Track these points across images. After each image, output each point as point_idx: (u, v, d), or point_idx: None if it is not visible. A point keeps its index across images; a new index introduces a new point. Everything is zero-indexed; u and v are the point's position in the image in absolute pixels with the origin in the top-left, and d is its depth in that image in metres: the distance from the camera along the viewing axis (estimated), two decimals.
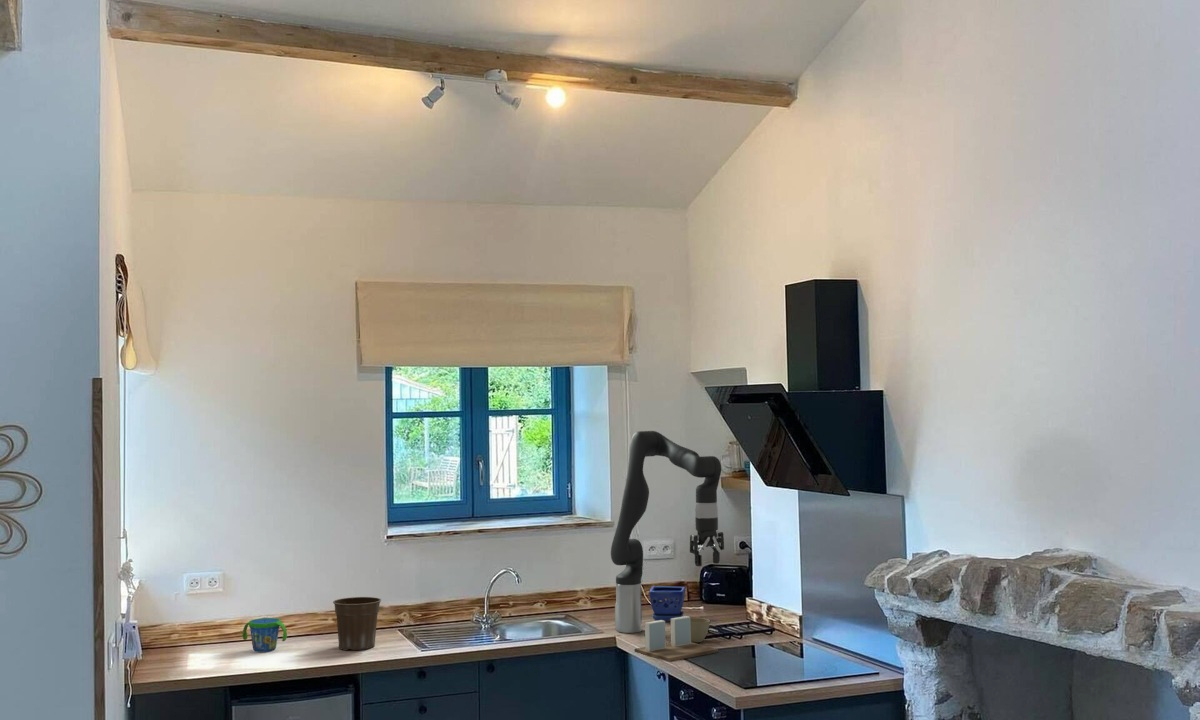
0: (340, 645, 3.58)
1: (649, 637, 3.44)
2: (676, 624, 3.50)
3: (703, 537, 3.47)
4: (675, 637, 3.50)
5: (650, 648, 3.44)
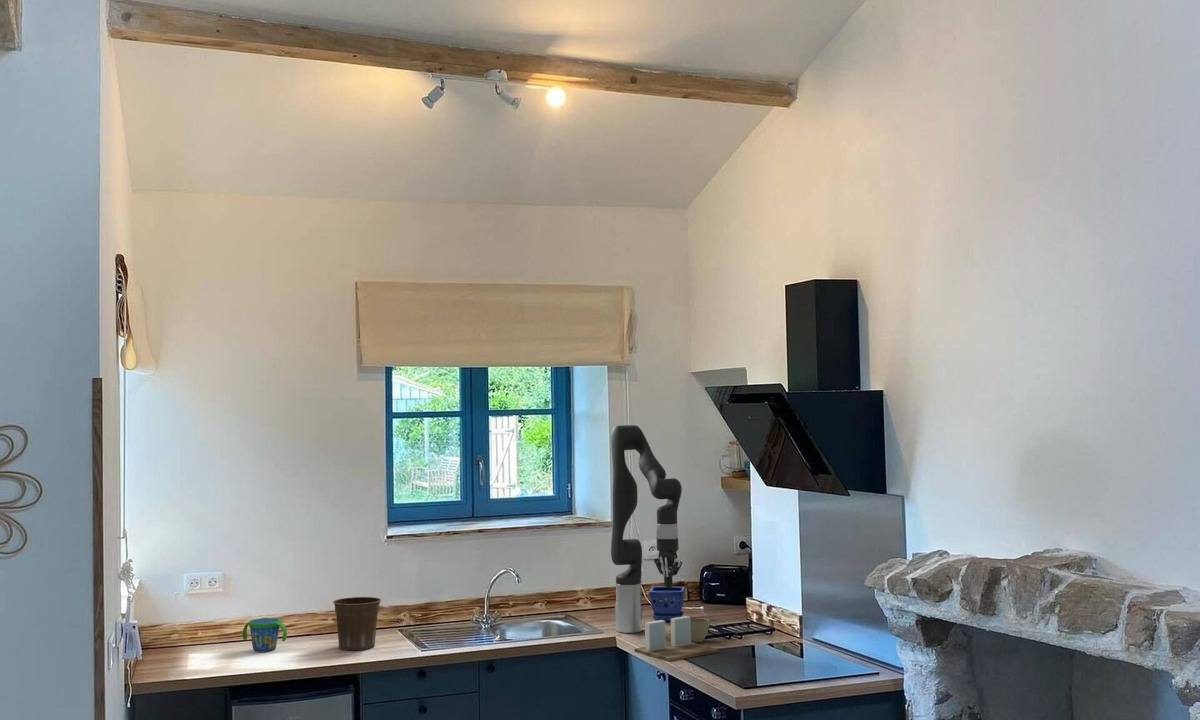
0: (340, 645, 3.58)
1: (649, 637, 3.44)
2: (676, 624, 3.50)
3: None
4: (675, 637, 3.50)
5: (650, 648, 3.44)
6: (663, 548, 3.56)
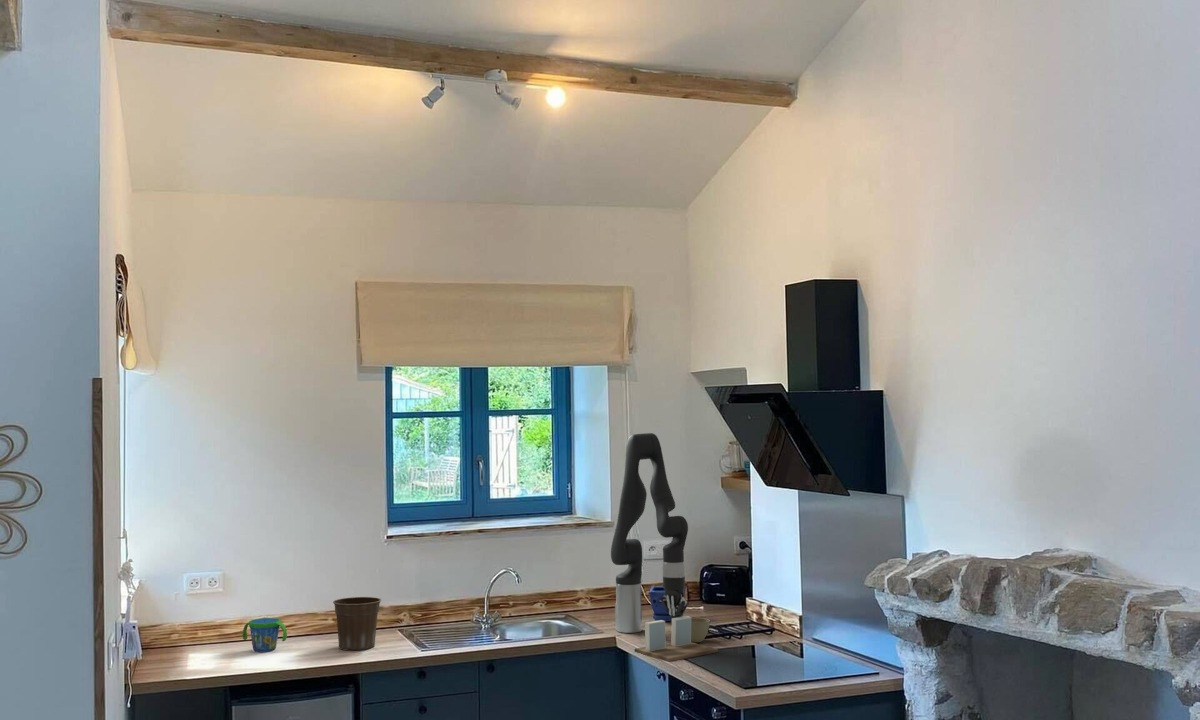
0: (340, 645, 3.58)
1: (649, 637, 3.44)
2: (677, 624, 3.50)
3: None
4: (675, 637, 3.50)
5: (650, 648, 3.44)
6: (669, 587, 3.53)
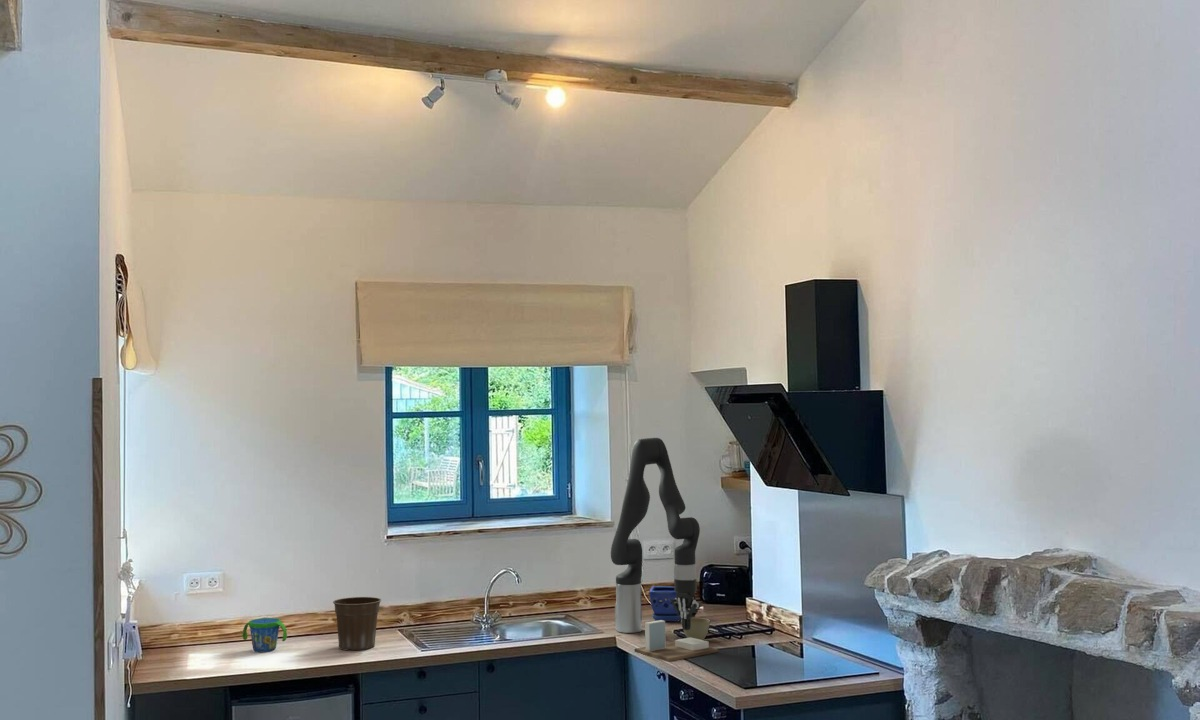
0: (340, 645, 3.58)
1: (649, 637, 3.44)
2: (691, 649, 3.44)
3: None
4: (681, 647, 3.47)
5: (650, 648, 3.44)
6: (681, 590, 3.48)
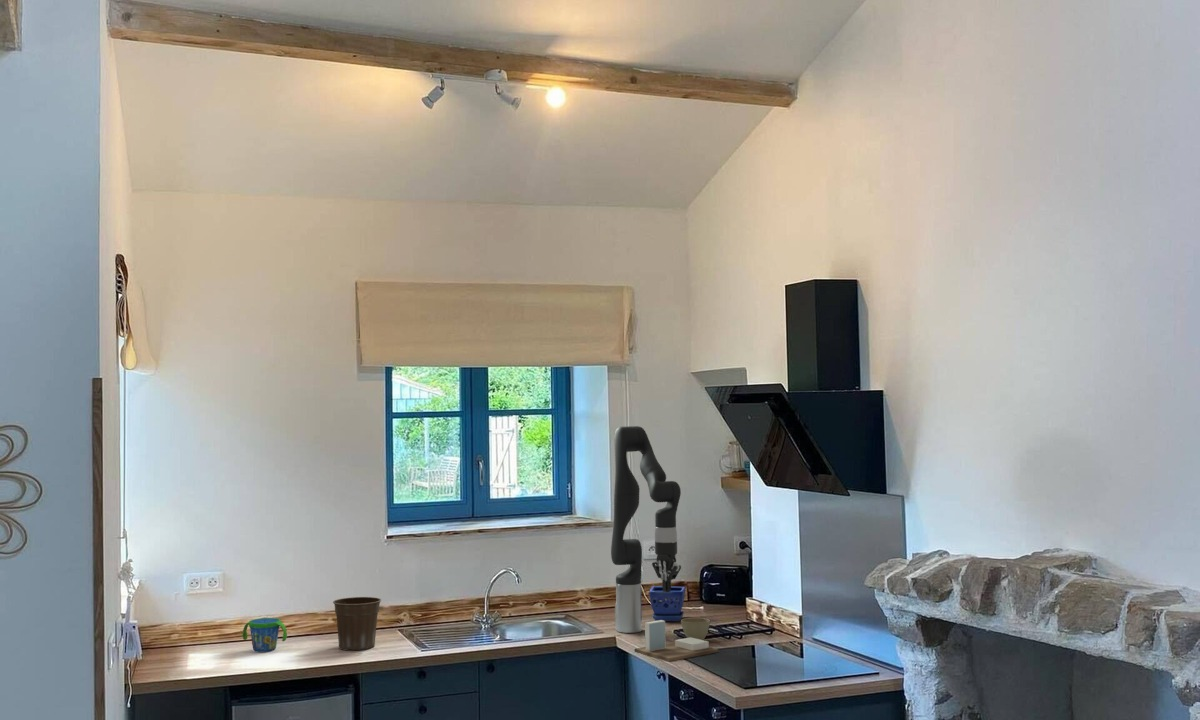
0: (340, 645, 3.58)
1: (649, 637, 3.44)
2: (691, 649, 3.44)
3: None
4: (681, 647, 3.47)
5: (650, 648, 3.44)
6: (661, 552, 3.51)
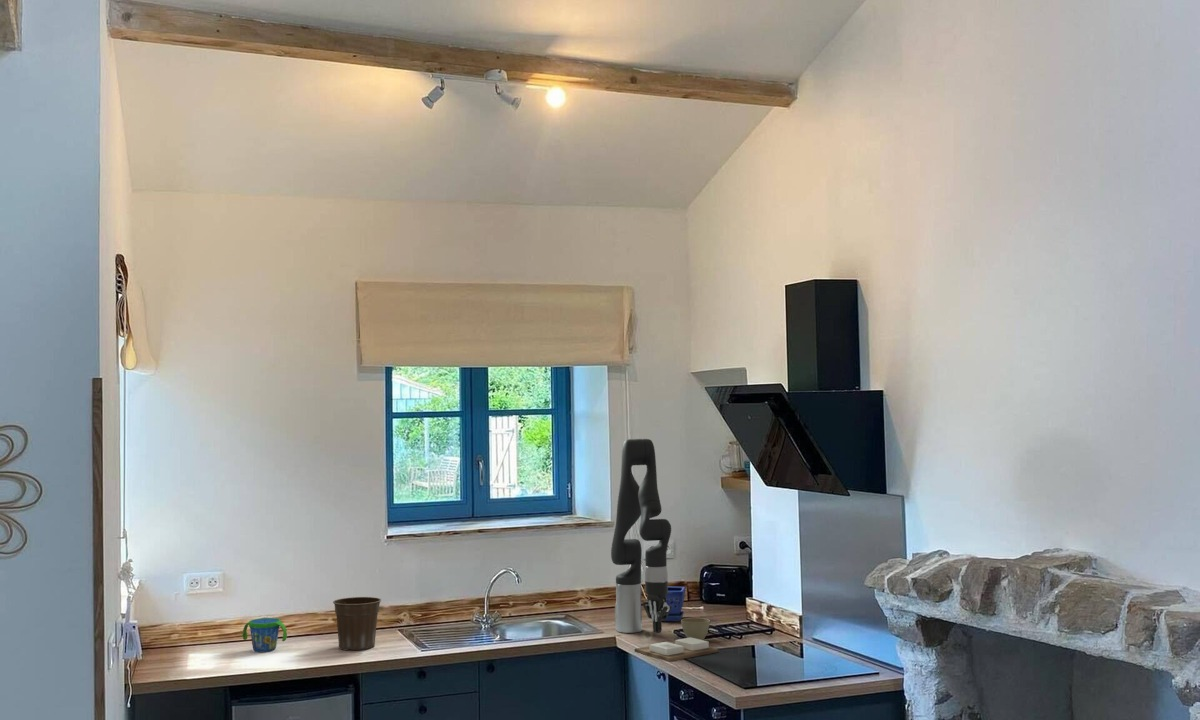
0: (340, 645, 3.58)
1: (658, 652, 3.40)
2: (691, 649, 3.44)
3: None
4: None
5: (652, 651, 3.43)
6: (651, 592, 3.43)
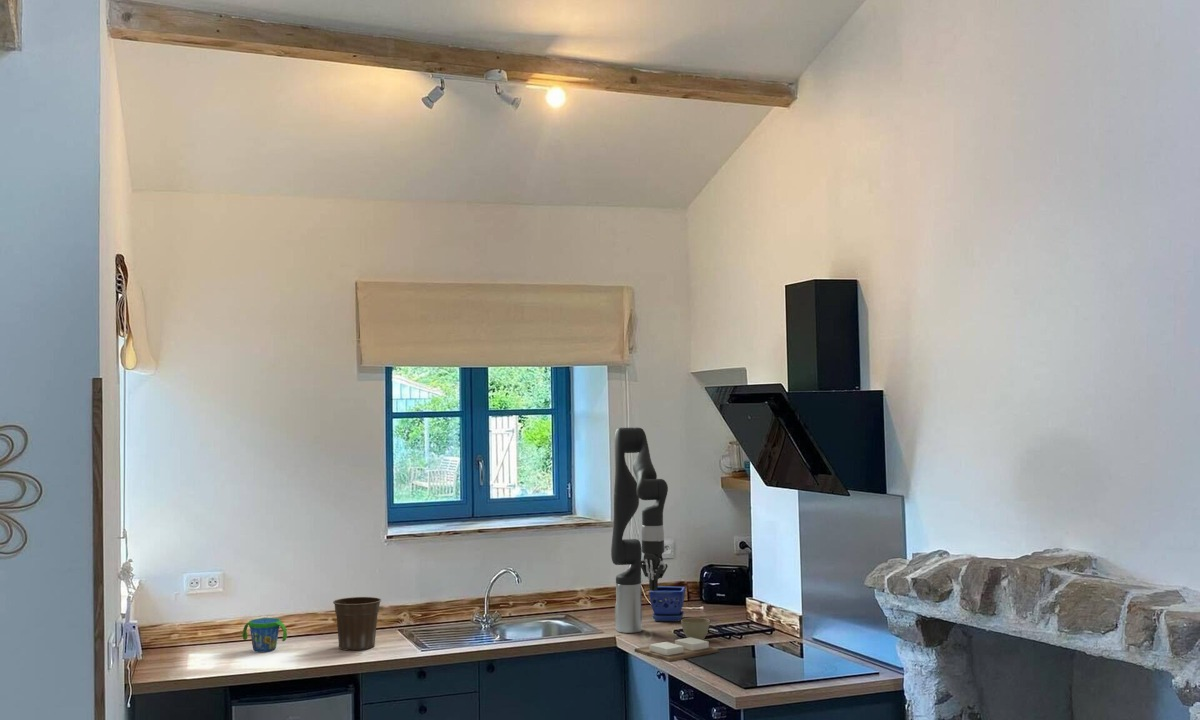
0: (340, 645, 3.58)
1: (658, 652, 3.40)
2: (691, 649, 3.44)
3: None
4: None
5: (652, 651, 3.43)
6: (648, 551, 3.47)
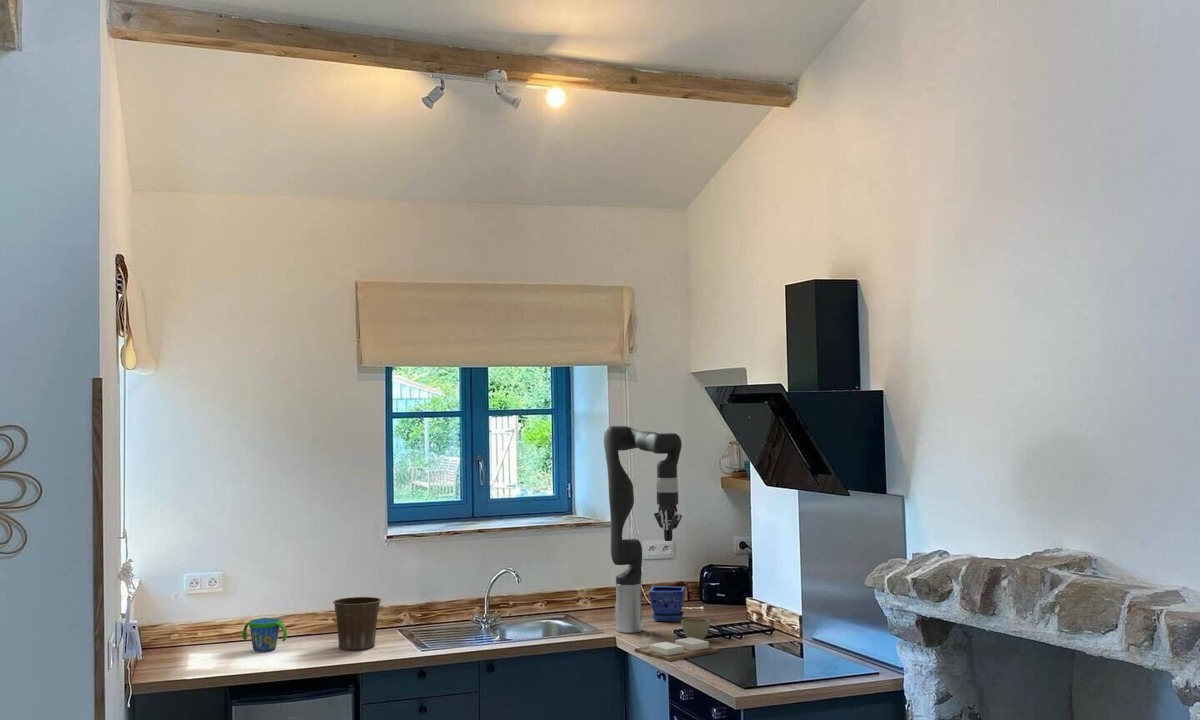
0: (340, 645, 3.58)
1: (658, 652, 3.40)
2: (691, 649, 3.44)
3: None
4: None
5: (652, 651, 3.43)
6: (663, 502, 3.60)
